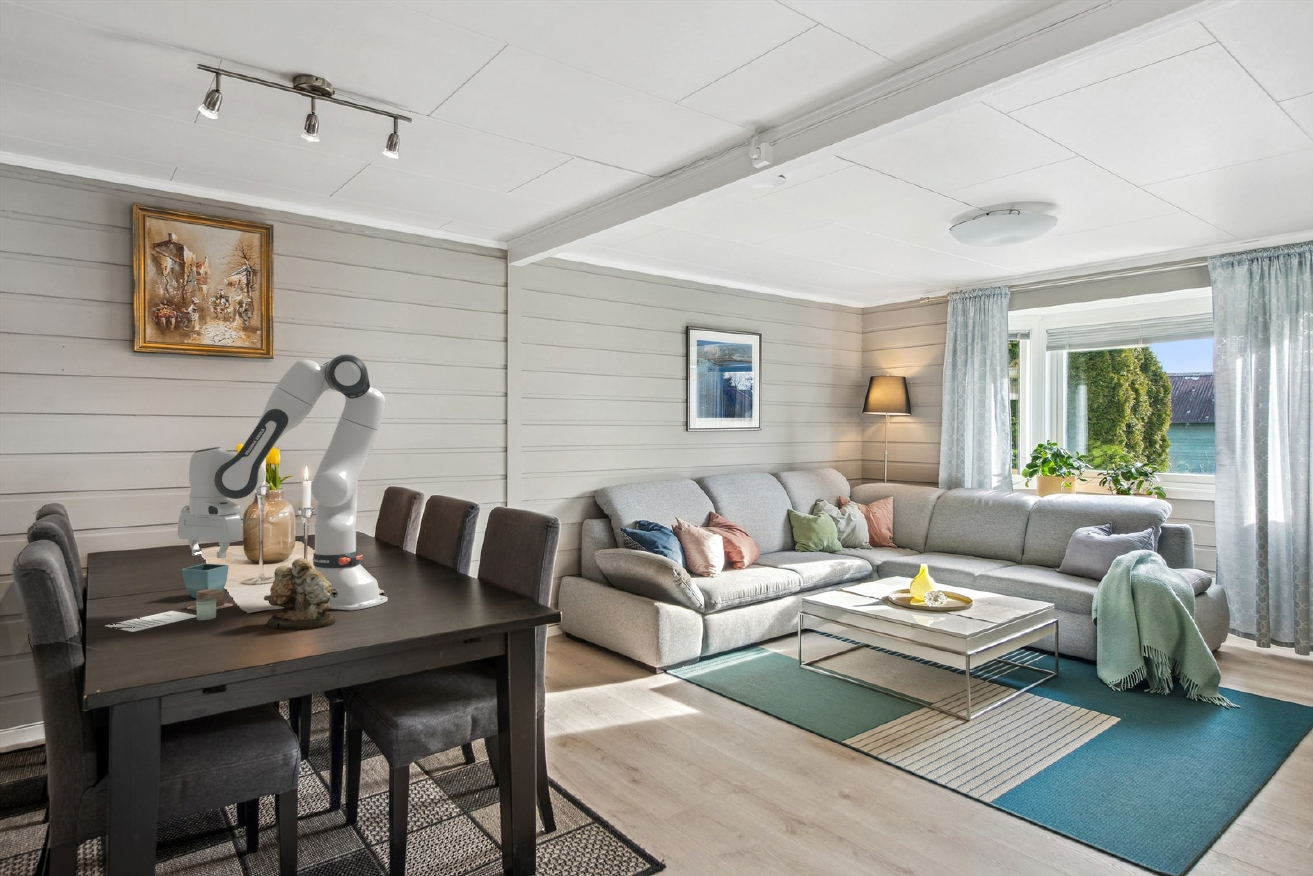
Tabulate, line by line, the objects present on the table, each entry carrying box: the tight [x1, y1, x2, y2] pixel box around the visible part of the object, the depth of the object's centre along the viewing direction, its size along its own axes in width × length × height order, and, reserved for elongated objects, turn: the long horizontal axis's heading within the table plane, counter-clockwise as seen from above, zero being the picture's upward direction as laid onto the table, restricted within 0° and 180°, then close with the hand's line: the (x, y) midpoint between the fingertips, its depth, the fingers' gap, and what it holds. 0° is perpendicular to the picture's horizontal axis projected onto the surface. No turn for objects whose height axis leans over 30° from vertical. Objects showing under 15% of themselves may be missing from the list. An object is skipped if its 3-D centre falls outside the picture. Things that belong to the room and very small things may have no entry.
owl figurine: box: [263, 557, 336, 631], centre depth 196 cm, size 18×12×17 cm, turn 87°
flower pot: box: [181, 563, 230, 599], centre depth 225 cm, size 9×9×9 cm
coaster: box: [186, 602, 234, 611], centre depth 212 cm, size 8×8×1 cm
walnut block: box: [195, 589, 225, 607], centre depth 212 cm, size 6×4×4 cm, turn 64°
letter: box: [104, 610, 197, 632], centre depth 197 cm, size 12×17×1 cm
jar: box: [195, 598, 217, 621], centre depth 200 cm, size 5×5×5 cm
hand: (209, 556), depth 209 cm, fingers open, 8 cm apart
